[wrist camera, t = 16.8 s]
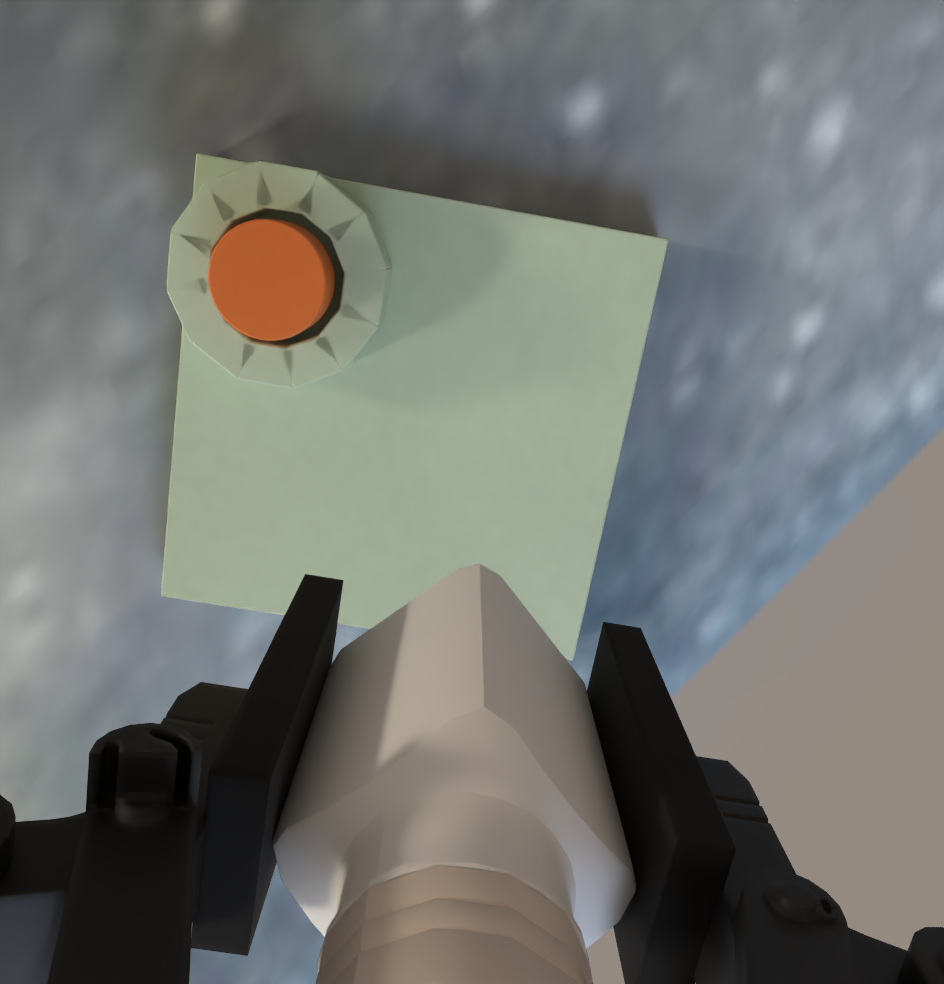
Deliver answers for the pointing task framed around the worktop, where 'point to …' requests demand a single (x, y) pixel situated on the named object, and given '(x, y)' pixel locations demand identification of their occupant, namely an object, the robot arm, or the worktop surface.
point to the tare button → (270, 279)
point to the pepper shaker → (454, 802)
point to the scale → (403, 400)
